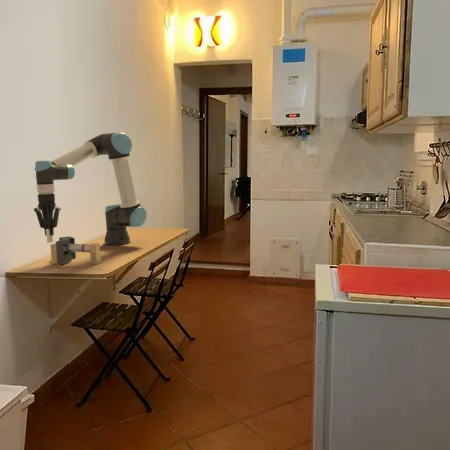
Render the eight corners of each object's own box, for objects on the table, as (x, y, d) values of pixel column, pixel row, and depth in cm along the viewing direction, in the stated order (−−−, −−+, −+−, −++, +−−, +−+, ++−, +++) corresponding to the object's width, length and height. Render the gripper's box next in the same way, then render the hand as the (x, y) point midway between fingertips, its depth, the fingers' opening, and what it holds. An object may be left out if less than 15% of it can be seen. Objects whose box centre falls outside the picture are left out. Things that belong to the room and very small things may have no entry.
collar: (57, 264, 223) (55, 241, 222) (65, 260, 231) (64, 238, 230) (63, 264, 223) (61, 241, 221) (71, 260, 230) (69, 238, 229)
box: (76, 258, 239) (74, 237, 238) (64, 259, 236) (63, 239, 234) (71, 256, 245) (69, 236, 244) (60, 257, 242) (58, 237, 241)
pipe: (51, 264, 226) (50, 244, 225) (56, 262, 230) (54, 243, 229) (96, 264, 222) (95, 244, 221) (100, 262, 226) (99, 243, 225)
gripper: (28, 194, 221) (33, 243, 224) (54, 193, 219) (58, 243, 222) (37, 193, 228) (41, 240, 231) (62, 192, 226) (66, 240, 229)
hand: (50, 242), depth 227 cm, fingers closed
